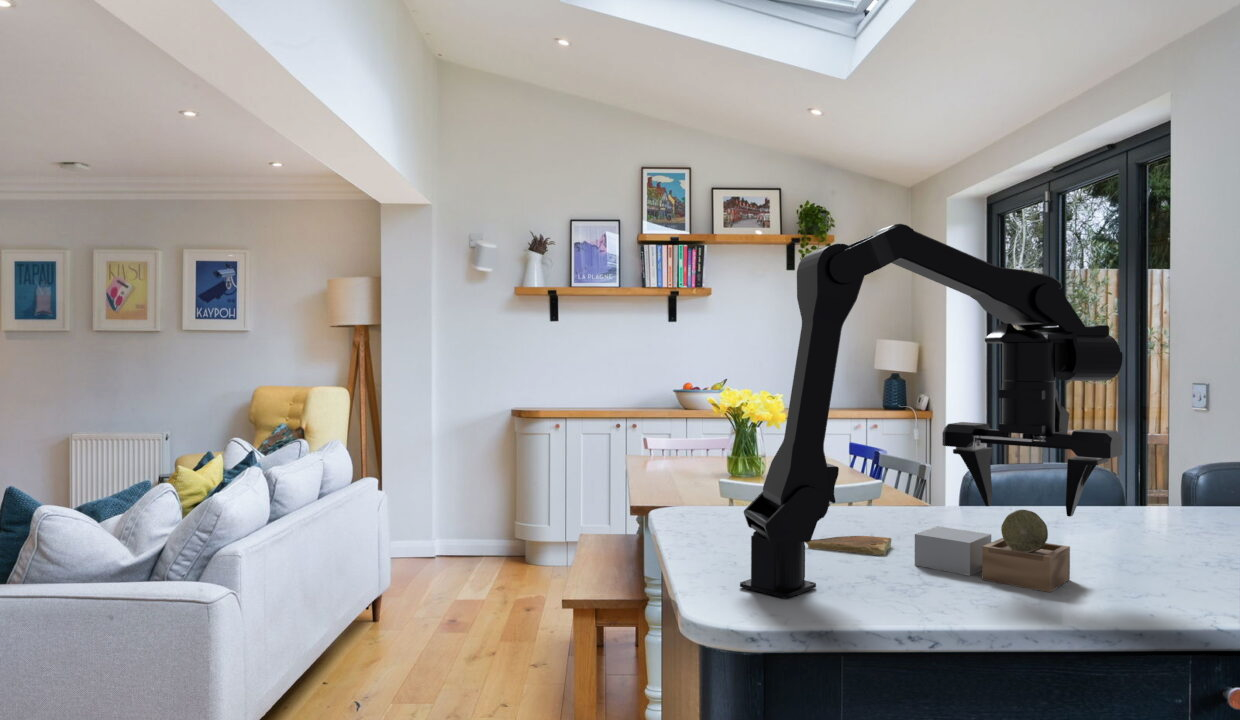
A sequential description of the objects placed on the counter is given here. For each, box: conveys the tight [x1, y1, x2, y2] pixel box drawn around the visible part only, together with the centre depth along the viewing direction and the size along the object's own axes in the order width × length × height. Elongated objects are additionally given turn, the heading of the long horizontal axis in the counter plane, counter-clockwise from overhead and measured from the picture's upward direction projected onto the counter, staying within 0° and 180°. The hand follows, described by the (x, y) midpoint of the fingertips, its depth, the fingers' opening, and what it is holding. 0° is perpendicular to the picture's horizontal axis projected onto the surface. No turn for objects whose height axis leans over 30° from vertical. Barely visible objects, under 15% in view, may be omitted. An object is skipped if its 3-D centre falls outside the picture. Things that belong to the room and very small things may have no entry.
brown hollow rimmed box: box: [981, 537, 1071, 593], centre depth 98 cm, size 8×8×4 cm
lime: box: [1000, 509, 1049, 553], centre depth 98 cm, size 4×5×5 cm
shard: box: [805, 535, 892, 557], centre depth 115 cm, size 11×8×2 cm
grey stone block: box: [914, 526, 992, 576], centre depth 104 cm, size 7×7×4 cm
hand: (1027, 510), depth 98 cm, fingers open, 9 cm apart
